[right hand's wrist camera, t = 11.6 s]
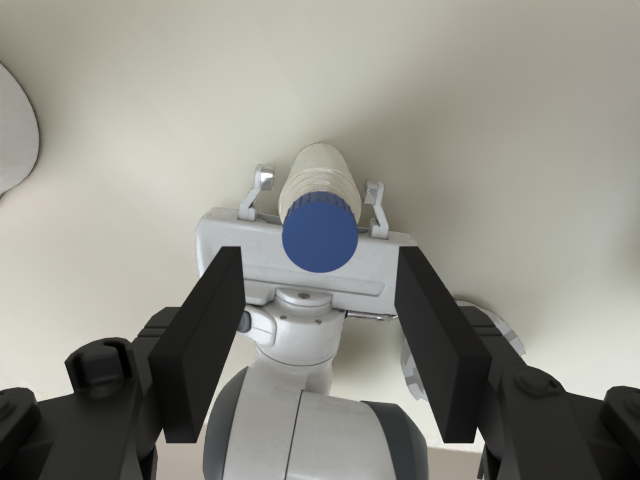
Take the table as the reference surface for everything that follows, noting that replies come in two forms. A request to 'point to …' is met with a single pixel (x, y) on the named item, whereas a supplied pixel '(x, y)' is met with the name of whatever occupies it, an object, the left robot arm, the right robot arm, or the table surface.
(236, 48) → the table surface
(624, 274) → the table surface
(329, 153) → the bottle
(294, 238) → the cap
